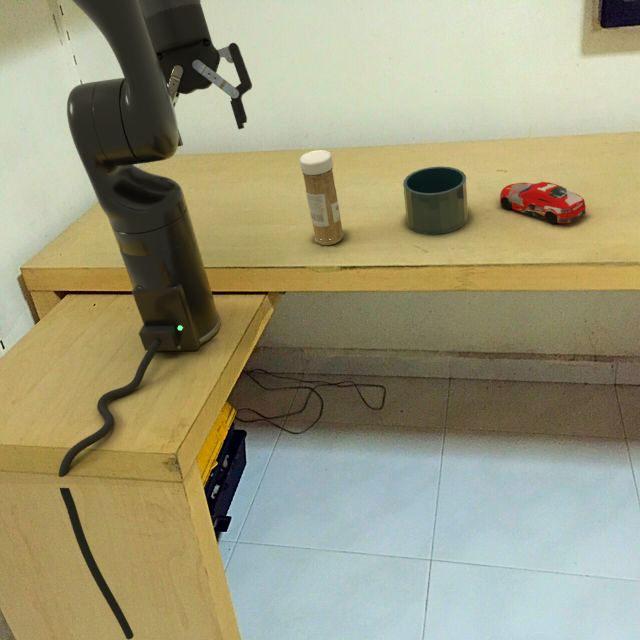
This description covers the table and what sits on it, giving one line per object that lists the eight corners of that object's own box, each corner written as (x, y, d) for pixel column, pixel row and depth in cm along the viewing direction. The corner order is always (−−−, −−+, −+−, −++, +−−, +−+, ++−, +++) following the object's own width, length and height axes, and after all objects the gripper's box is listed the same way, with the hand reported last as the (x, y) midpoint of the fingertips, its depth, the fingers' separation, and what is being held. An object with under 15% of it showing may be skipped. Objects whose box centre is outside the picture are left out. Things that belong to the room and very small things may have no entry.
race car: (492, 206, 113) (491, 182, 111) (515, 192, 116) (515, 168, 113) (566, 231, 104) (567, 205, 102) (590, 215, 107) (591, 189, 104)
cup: (467, 232, 108) (465, 192, 104) (405, 236, 110) (401, 196, 106) (467, 203, 115) (466, 164, 111) (409, 206, 117) (405, 168, 113)
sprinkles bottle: (350, 237, 112) (337, 154, 104) (325, 249, 110) (310, 165, 102) (332, 227, 115) (319, 146, 108) (308, 239, 114) (293, 157, 106)
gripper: (111, 22, 91) (154, 153, 96) (222, -11, 91) (261, 122, 95) (125, 29, 99) (164, 151, 103) (228, -1, 98) (263, 122, 102)
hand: (210, 137), depth 99 cm, fingers open, 8 cm apart
